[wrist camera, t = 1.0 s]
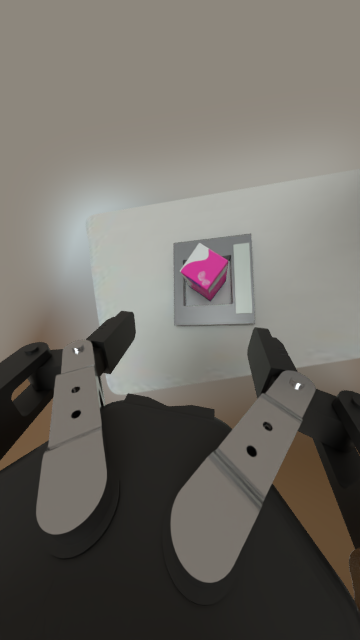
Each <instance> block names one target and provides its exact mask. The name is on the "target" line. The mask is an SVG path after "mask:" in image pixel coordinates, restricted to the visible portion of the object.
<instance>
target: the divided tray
mask: <svg viewBox="0 0 360 640" xmlns="http://www.w3.org/2000/svg"><path fill="white" fill-rule="evenodd" d="M199 243H201V244H202V245H204V246H206V247H207V248H209V249H211V250H212V251H214V252H215V253H217V254H219V255H220V256H222V257H223V258H225V259H226V260H230V266H231V293H232V304H217V305H195V306H186V303H185V279H184V277H183V276H182V274H181V272H180V270H181V268H182V267H183V265H184V264H185V263H186V261H187V260H188V258H189V257H190V255H191V254H192V252H193V251H194V250H195V248H196V247H197V245H198V244H199ZM235 324H255V306H254V284H253V263H252V241H251V234H244V235H236V236H228V237H220V238H211V239H203V240H195V241H187V242H179V243H174V325H175V326H191V325H235Z"/></svg>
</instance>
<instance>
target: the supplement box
mask: <svg viewBox="0 0 360 640" xmlns="http://www.w3.org/2000/svg"><path fill="white" fill-rule="evenodd" d="M227 266H228V260H226V259H225V258H223V257H222V256H220V255H219V254H217V253H215V252H214V251H212V250H211V249H209V248H207V247H206V246H204V245H202V244H201V243H199V244H198V245H197V247H196V248H195V250H194V251H193V252H192V254H191V255H190V257H189V258H188V260H187V261H186V263H185V264H184V265H183V267H182V268H181V270H180V272H181V274H182V276H183V277H184V279H185V280H186V282H187V283H188V285H189V286H190V287H191V288H192V289H194V290H195V291H197V292H198V293H200V294H201V295H203V296H204V297H206V298H207V299H208V300H209V301H211V300H212V298H213V297H214V296H215V294H216V293H217V292H218V291H219V289H220V288H221V287H222V285H223V284H224V282H225V281H226V274H227Z"/></svg>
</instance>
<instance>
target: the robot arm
mask: <svg viewBox="0 0 360 640" xmlns="http://www.w3.org/2000/svg"><path fill="white" fill-rule="evenodd" d="M135 334H136V330H135V320H134V314H133V312H127V311H121V312H120V313H119V314H118V315H117V316H116V317H112V318H110V319H108V320H106V321H105V322H104V323H103V324H102V325H101V326H100V327H99V328H98V329H97V330H96V331H94V332H93V333H92V334H91V335H90V336H89V337H88V338H87V339H86V340H77V341H74V342H71V343H70V344H68V345H67V346H66V347H65V348H64V349H60V350H50V349H49V347H48V345H47V344H46V343H43V342H37V343H32V344H29V345H26V346H24V347H22V348H20V349H19V350H18V351H16V352H15V353H13V354H12V355H10V356H9V357H8V358H7V359H5V360H4V361H2V362H1V363H0V460H1V459H2V458H3V456H4V455H5V454H6V453H7V452H8V451H9V449H10V448H11V447H12V446H13V445H14V443H15V442H16V441H17V440H18V439H19V437H20V436H21V435H22V434H23V432H24V431H25V430H26V429H27V428H28V427H29V425H30V424H31V423H32V422H33V421H34V419H35V418H36V417H37V416H38V415H39V413H40V412H41V411H42V410H43V409H44V407H45V406H46V405H47V404H48V403H49V402H50V400H51V399H52V398H53V406H52V416H51V425H50V435H49V440H48V441H47V442H45V443H44V444H42V445H41V446H39V447H37V448H36V449H34V450H33V451H31V452H29V453H28V454H26V455H25V456H23V457H21V458H20V459H18V460H17V461H15V462H14V463H12V464H10V465H9V466H7V467H6V468H4V469H3V470H1V471H0V640H360V456H359V454H360V394H358V393H355V392H352V391H341V392H340V393H339V394H338V395H337V397H336V396H333V395H331V394H328V393H326V392H323V391H320V390H318V389H316V388H315V385H314V384H313V382H312V381H311V380H310V379H309V378H307V377H306V376H305V375H303V374H301V373H299V372H297V370H296V368H295V366H294V364H293V362H292V360H291V359H290V357H289V356H288V353H287V351H286V349H285V347H284V345H283V344H282V343H281V342H280V341H279V340H278V339H277V338H273V337H272V336H271V334H270V332H269V330H268V329H264V328H256V327H255V328H254V330H253V333H252V336H251V340H250V343H249V346H248V360H249V364H250V368H251V373H252V377H253V381H254V385H255V390H256V394H257V400H256V401H255V402H254V404H253V405H252V406H251V408H250V409H249V410H248V411H247V412H246V414H245V415H244V416H243V417H242V419H241V420H240V421H239V422H238V424H237V425H236V426H235V427H234V428H233V429H231V428H230V427H229V426H228V425H227V424H226V423H224V422H223V421H221V420H219V419H218V418H216V417H214V409H210V408H204V407H199V406H193V405H188V406H166V405H164V404H162V403H159V402H158V401H155V400H153V399H151V398H149V397H145V396H139V395H134V394H129V393H128V394H127V396H126V398H125V400H121V401H116V402H112V403H110V404H107V405H105V399H104V393H103V387H102V381H101V377H100V376H101V375H102V373H107V374H111V373H112V371H113V370H114V368H115V367H116V365H117V364H118V362H119V361H120V359H121V358H122V356H123V355H124V354H125V352H126V351H127V349H128V348H129V346H130V345H131V343H132V342H133V340H134V338H135ZM27 378H28V380H29V382H30V385H29V386H28V387H27V388H26V389H25V390H24V391H23V392H22V393H21V394H20V395H19V396H18V397H17V398H16V399H15V400H14V401H13V402H12V400H11V396H12V393H13V391H14V390H15V389H16V388H17V387H18V386H19V385H20V384H22V383H23V382H24V381H25V380H26V379H27ZM297 431H299V432H301V433H303V434H305V435H308V436H310V437H312V438H313V440H314V443H315V446H316V448H317V451H318V453H319V456H320V458H321V461H322V464H323V466H324V469H325V471H326V474H327V477H328V480H329V482H330V485H331V487H332V490H333V493H334V495H335V498H336V500H337V503H338V506H339V508H340V511H341V513H342V516H343V519H344V521H345V524H346V526H347V529H348V532H349V534H350V537H351V539H352V542H353V545H354V547H355V550H354V551H352V553H351V554H350V558H349V569H350V574H351V578H352V584H353V589H354V600H353V598H352V596H351V595H350V593H349V591H348V590H347V588H346V586H345V585H344V583H343V582H342V580H341V579H340V577H339V576H338V575H337V574H336V572H335V570H334V569H333V568H332V566H331V565H330V564H329V562H328V561H327V559H326V558H325V556H324V555H323V554H322V552H321V551H320V550H319V548H318V547H317V545H316V544H315V542H314V541H313V540H312V538H311V537H310V535H309V534H308V533H307V531H306V530H305V529H304V527H303V526H302V524H301V523H300V521H299V520H298V519H297V517H296V516H295V514H294V513H293V512H292V510H291V509H290V507H289V506H288V505H287V503H286V502H285V500H284V499H283V498H282V496H281V495H280V493H279V492H278V491H277V489H276V488H275V486H274V485H273V484H272V482H273V480H274V478H275V476H276V474H277V472H278V470H279V468H280V466H281V464H282V462H283V460H284V457H285V455H286V453H287V451H288V449H289V447H290V445H291V443H292V441H293V439H294V437H295V435H296V433H297ZM355 447H356V448H355ZM356 449H357V450H358V452H359V454H358V452H357V450H356Z"/></svg>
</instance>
